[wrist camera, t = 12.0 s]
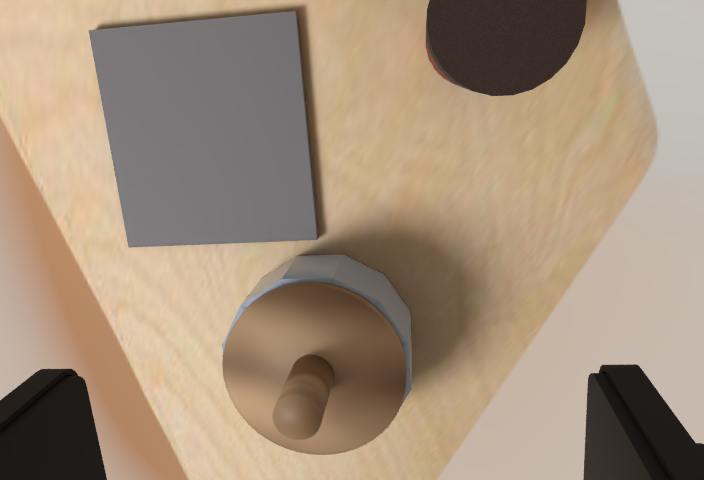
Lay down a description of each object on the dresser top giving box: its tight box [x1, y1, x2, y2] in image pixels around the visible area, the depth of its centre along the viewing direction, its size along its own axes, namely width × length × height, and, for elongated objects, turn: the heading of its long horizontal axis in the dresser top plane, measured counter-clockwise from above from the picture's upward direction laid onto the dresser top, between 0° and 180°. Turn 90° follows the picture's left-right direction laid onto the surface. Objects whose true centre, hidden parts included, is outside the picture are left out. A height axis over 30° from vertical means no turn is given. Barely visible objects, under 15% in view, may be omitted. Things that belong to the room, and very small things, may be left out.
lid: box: [223, 282, 407, 455], centre depth 36 cm, size 12×12×6 cm
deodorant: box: [426, 0, 586, 96], centre depth 29 cm, size 6×6×15 cm
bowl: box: [222, 254, 412, 428], centre depth 41 cm, size 12×12×5 cm
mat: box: [89, 11, 318, 247], centre depth 40 cm, size 15×14×1 cm
